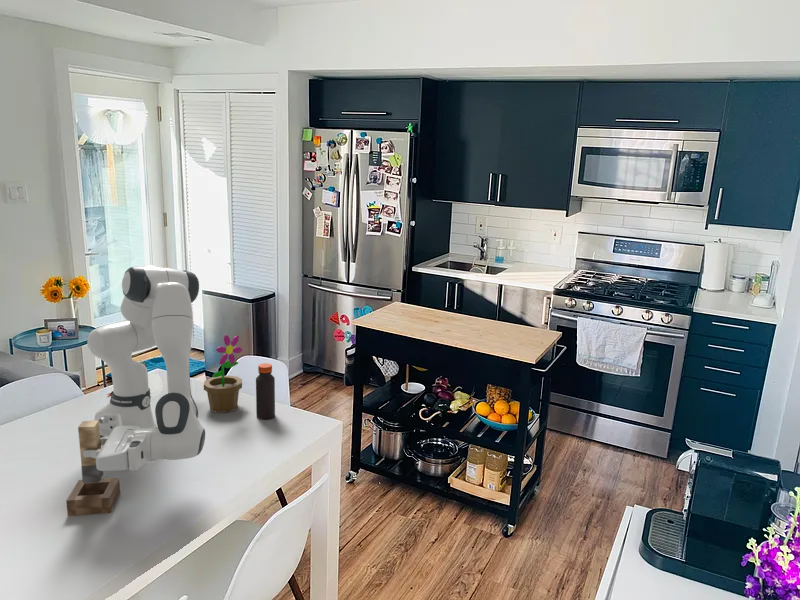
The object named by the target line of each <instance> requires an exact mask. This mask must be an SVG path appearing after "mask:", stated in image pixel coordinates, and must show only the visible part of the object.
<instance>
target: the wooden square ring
mask: <svg viewBox="0 0 800 600" xmlns="http://www.w3.org/2000/svg"><path fill="white" fill-rule="evenodd" d="M120 494H121V484H120V477H111V478H110V477H109V478H101V480H100V482H93V483H83V479H79V480H78V481H77V483H76V484H75V485H74V487H73V488H72V491H71V493H70V494H69V495H68V497H67V499H65V500H66V512H67V517H72V516H85V515H86V516H89V515H101V514H111V513H112V511H113V508H114V507H115V504H116V502H117V500H118V498H119V497H120Z"/></svg>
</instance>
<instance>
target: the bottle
mask: <svg viewBox="0 0 800 600" xmlns="http://www.w3.org/2000/svg"><path fill="white" fill-rule="evenodd" d="M257 367H258V368H257V369H258V371H257V372H258V375H257V377H256V378H255V394H256V396H255V397H256V399H255V400H256V401H255V405H256V409H255V411H256V418H257V419H259V420H263V421H265V420H271V419H273V418H275V417H276V402H275V401H276V396H275V395H276V391H275V389H276V387H275V386H276V383H275V381H276V379H275V378H276V377H275V376H273V374H272V372H273V365H272V364H271V363H268V362H266V363H260V364H258V366H257Z"/></svg>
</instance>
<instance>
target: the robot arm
mask: <svg viewBox="0 0 800 600" xmlns="http://www.w3.org/2000/svg"><path fill="white" fill-rule="evenodd" d="M121 288H122V293H123V295H124V297H123V299H122V302H121V304H120V312H121V315H122V316H123V318H124V319H125V320H122V321H117V322H112V323H108V324H104V325H102V326H98V327H97V328H95V329H92V330H91V331H90V333H89V334H88V337H87V342H86V343H87V344H86V345H87V348H88V351H89V352H90V353H91V355H93V356H94V357H95V358H98V359H99V360H102V361H103V362H104V363H105V365H106V366H108V368H109V371H110V374H111V378H112V379H111V381H112V388H113V389H112V391H111V392H109V393H108V394H106V398H110V399H109V401H108V402H107V403H106V404H104V405H102V406H101V407H99V409H98V410H97V411H96V412H95V415H94V419H93V421H95V420H99V428H100V440H101V449H98V450H92V448H89V449H85V450H84V452H83V456H84V457H92V458H95V459H96V468H97V470H100V471H103V472H117V471H126V470H128V469H129V471H130V472H136V471H138V470H140V469H141V467H143V466H144V465H145V464H147V463H149V462H157V461H159V460H168V461H174V460H175V461H176V460H187V459H191V458H195V457H197V456H199V455H200V453H201V452H202V451H203V448H204V445H205V440H206V430H205V428H204V427H203V426H202V425H201V423H200V421H199V420H198V418H199V408H198V406H197V403H196V402H195V400H194V398H193V395H192V391H191V376H190V375H191V372H190V355H191V348H192V342H193V341H192V340H193V330H194V329H193V328H194V319H193V317H194V316H193V314H194V312H193V304H192V303H193V302H195V301H196V300H197V298H198V295H199V292H200V281H199V278H198V276H197V275H196V274H195V273H194V272H192V271H188V270H180V269H176V268H172V267H171V268H170V267H159V266H156V265H144V266H130V267H129V268H127V269H126V271H125V272H124V274H123V277H122V281H121ZM155 346H156V347H157V349H158V350H159V353H160V354H161V357H162V358H163V360H164V363H165V367H166V380H167V393H165V394H164V395H162V396H161V397H160V398H159V399H158V401H157V403H156V404H155V408H154V414H155V419H154V416H153V412H152V406H151V398H152V397H151V396H152V395H151V396H150V394H151V389H150V388H149V374H148V373H149V372H148V367H147V366H146V367H145V366H144V365H143V364H142V363H143V362H139V361H136V360H134V359H133V357H132V353H135V352H136V353H137V352H139V351H143V350H147V349H151V348H153V347H155ZM155 420H156V422H155ZM101 436H102V437H101Z"/></svg>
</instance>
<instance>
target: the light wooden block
mask: <svg viewBox="0 0 800 600" xmlns="http://www.w3.org/2000/svg"><path fill="white" fill-rule="evenodd" d="M94 420H95V419H94ZM94 420H82V421H81V423H80V424H79V425H78V427H77V428H78V429H77V430H78V441H79V452H80V463H81V468H80V469H81V474H82V475H81V478H82V479H81V480H83V483H93V482H100V480H101V479H103V476H104V471H100V470H97V468H96V459H95V458H92V457H84V456H83V452H84V450H85V449H89V448H92V450H98V449H102V446H101V440H100V438H101V435H100V428H99V420H95V421H94Z"/></svg>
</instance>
